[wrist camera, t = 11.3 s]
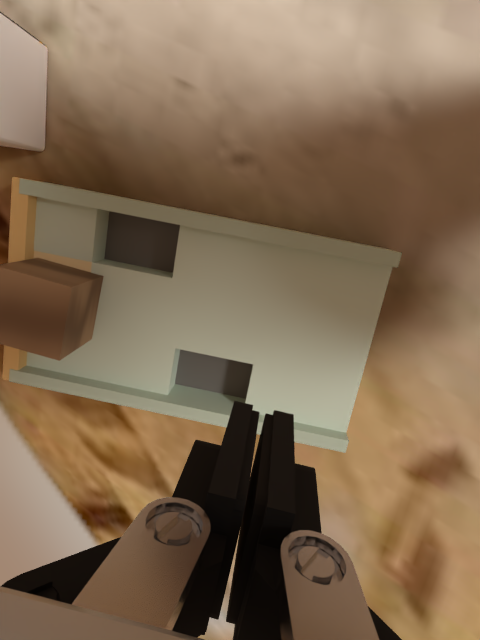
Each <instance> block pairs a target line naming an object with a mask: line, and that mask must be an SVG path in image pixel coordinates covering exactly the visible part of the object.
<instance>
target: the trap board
mask: <svg viewBox="0 0 480 640" xmlns="http://www.w3.org/2000/svg"><path fill="white" fill-rule="evenodd" d="M19 193H20V194H25V195H30V196H35V197H37V206H36V221H35V237H34V258H41V259H45V260H48V261H52V262H55V263H59V264H62V265H66V266H70V267H73V268H77V269H80V270H84V271H87V272H91V273H94V274H98V275H102V276H104V277H103V282H102V287H101V293H100V298H99V304H98V309H97V315H96V320H95V325H94V331H93V336H92V339H91V340H90V341H88V342H87V343H85V344H84V345H82V346H81V347H79V348H78V349H76V350H75V351H73V352H72V353H70V354H69V355H67V356H66V357H64V358H63V359H61V360H60V361H58V360H55V359H51V358H48V357H44V356H41V355H37V354H34V353H30V352H27V364H26V366H25V367H23V368H21V369H20V370H14V369H10V373H9V381H10V382H14V383H19V384H24V385H28V386H33V387H38V388H43V389H47V390H52V391H57V392H61V393H66V394H71V395H76V396H80V397H85V398H90V399H94V400H99V401H104V402H109V403H113V404H118V405H123V406H128V407H132V408H137V409H142V410H146V411H151V412H156V413H161V414H165V415H170V416H175V417H179V418H184V419H189V420H194V421H198V422H203V423H208V424H212V425H217V426H222V427H227V424H228V421H229V418H230V414H231V411H232V407H233V404H234V401H238V402H242V403H247V404H251V405H253V409H252V410H254V411H258V412H260V413H259V420H258V427H257V433H256V434H261V430H262V426H263V422H264V417H265V414H266V413H267V414H271V415H273V412H274V410H277V411H281V412H285V413H289V414H294V442H297V443H302V444H307V445H311V446H316V447H321V448H326V449H330V450H335V451H340V452H344V453H345V452H346V449H347V445H348V442H349V440H348V437H347V434H346V431H347V428H348V424H349V421H350V417H351V414H352V410H353V406H354V403H355V399H356V396H357V392H358V389H359V385H360V382H361V378H362V374H363V371H364V367H365V364H366V360H367V357H368V353H369V349H370V346H371V342H372V339H373V335H374V332H375V328H376V324H377V321H378V317H379V314H380V310H381V307H382V303H383V299H384V296H385V292H386V289H387V285H388V282H389V278H390V274H391V271H392V267H396V268H398V266H399V262H400V258H401V255H402V253H401V252H398V251H394V250H391V249H387V248H382V247H377V246H372V245H366V244H361V243H356V242H351V241H346V240H341V239H336V238H331V237H325V236H320V235H315V234H310V233H305V232H300V231H295V230H290V229H284V228H279V227H274V226H269V225H264V224H259V223H254V222H249V221H244V220H238V219H233V218H228V217H223V216H218V215H213V214H208V213H203V212H197V211H192V210H187V209H182V208H177V207H172V206H167V205H162V204H156V203H151V202H146V201H141V200H136V199H131V198H126V197H121V196H115V195H110V194H105V193H100V192H95V191H90V190H85V189H80V188H75V187H69V186H64V185H59V184H54V183H49V182H40V181H33V180H27V179H22V178H20V183H19Z"/></svg>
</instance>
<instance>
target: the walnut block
mask: <svg viewBox="0 0 480 640" xmlns="http://www.w3.org/2000/svg"><path fill="white" fill-rule="evenodd" d="M103 277H104V276H102V275H98V274H94V273H91V272H87V271H84V270H80V269H77V268H73V267H70V266H66V265H62V264H59V263H55V262H52V261H48V260H45V259H41V258H34V259H28V260H22V261H17V262H11V263H5V264H0V344H2V345H5V346H9V347H12V348H16V349H19V350H23V351H27V352H30V353H34V354H37V355H41V356H44V357H48V358H51V359H55V360H58V361H60V360H61V359H63V358H64V357H66V356H67V355H69V354H70V353H72V352H73V351H75V350H76V349H78V348H79V347H81V346H82V345H84V344H85V343H87V342H88V341H90V340H91V339H92V336H93V331H94V325H95V320H96V315H97V309H98V304H99V298H100V293H101V287H102V282H103Z"/></svg>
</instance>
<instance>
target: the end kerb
mask: <svg viewBox="0 0 480 640" xmlns="http://www.w3.org/2000/svg"><path fill="white" fill-rule="evenodd" d="M22 179H25V178H22ZM27 180H31V179H27ZM33 181H38V180H33ZM40 182H44V181H40ZM19 183H20V178H18V177H12V189H11V210H10V231H9V252H8V263H11V262H17V261H22V260H28V259H34V237H35V221H36V206H37V197H35V196H30V195H25V194H20V193H19ZM26 364H27V351H23V350H19V349H16V348H12V347H9V346H5V345H4V355H3V376H2V379H3V380H8V381H9V373H10V369H14V370H20V369H21V368H23V367H25V366H26Z"/></svg>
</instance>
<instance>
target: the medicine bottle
mask: <svg viewBox="0 0 480 640" xmlns="http://www.w3.org/2000/svg"><path fill="white" fill-rule="evenodd" d="M47 64H48V49H47V47H46V46H45V45H44V44H43V43H42V42H40V41H39V40H38V39H36V38H35V37H34V36H32V35H31V34H30V33H28V32H27V31H26V30H24V29H23V28H22V27H20V26H19V25H18V24H16V23H15V22H14V21H12V20H11V19H9V18H8V17H7V16H5V15H4V14H3V13H1V12H0V146H5V147H12V148H18V149H25V150H32V151H38V152H40V151H43V150H44V149H45V130H46V97H47Z"/></svg>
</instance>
